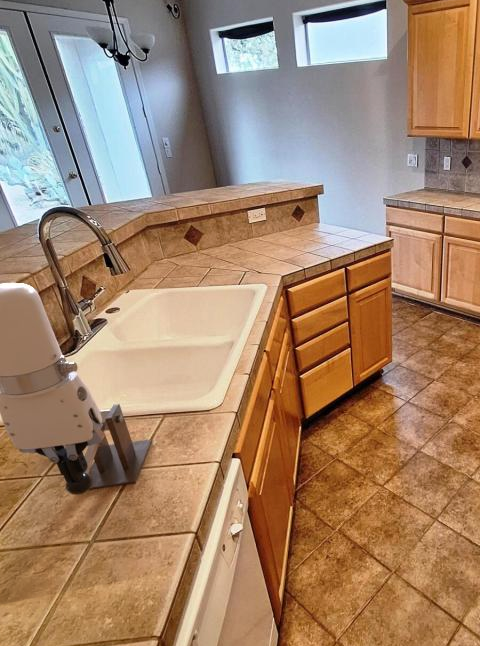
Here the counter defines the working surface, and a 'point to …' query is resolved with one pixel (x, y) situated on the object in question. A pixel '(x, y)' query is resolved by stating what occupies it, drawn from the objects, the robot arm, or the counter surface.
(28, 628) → the counter surface
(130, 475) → the bracket
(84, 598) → the counter surface
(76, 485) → the tap lever
